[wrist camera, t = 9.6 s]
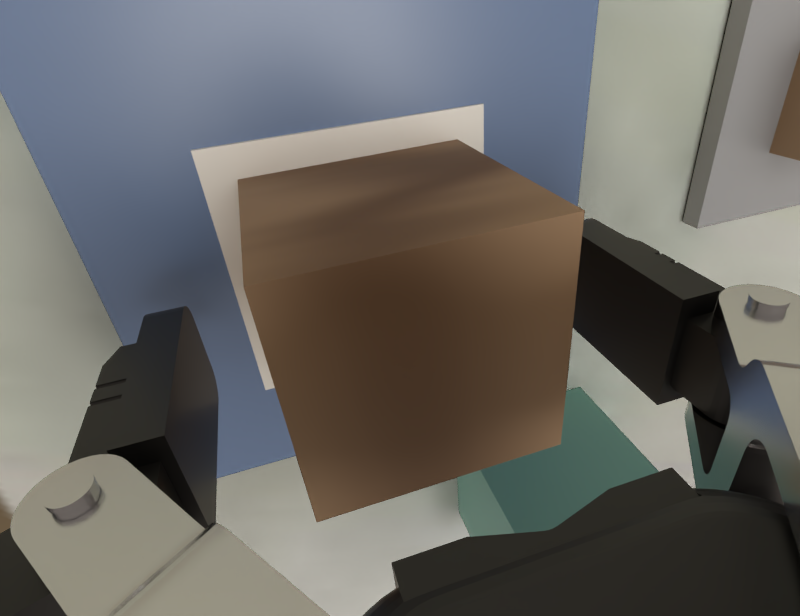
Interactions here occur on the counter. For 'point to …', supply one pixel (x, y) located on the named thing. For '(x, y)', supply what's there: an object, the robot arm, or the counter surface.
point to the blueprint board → (267, 135)
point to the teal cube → (552, 475)
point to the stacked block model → (751, 118)
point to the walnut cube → (410, 316)
